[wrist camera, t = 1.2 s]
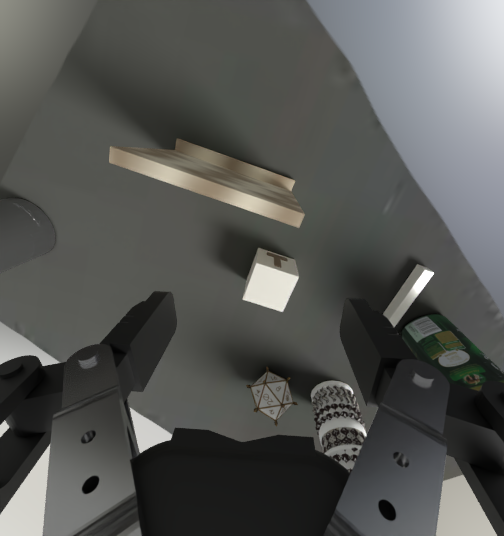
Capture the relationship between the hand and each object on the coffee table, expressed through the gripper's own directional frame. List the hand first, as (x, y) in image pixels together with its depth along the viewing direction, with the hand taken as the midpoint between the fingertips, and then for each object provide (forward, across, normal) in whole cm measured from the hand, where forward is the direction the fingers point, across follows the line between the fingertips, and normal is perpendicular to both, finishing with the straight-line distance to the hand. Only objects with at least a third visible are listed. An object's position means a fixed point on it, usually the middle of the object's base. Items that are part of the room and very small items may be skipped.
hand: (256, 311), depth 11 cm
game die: (+26, -2, +34) cm, 42 cm away
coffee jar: (+26, -28, +21) cm, 44 cm away
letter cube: (+26, -1, +10) cm, 28 cm away
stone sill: (+26, -21, +16) cm, 37 cm away
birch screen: (+26, +4, -4) cm, 26 cm away
